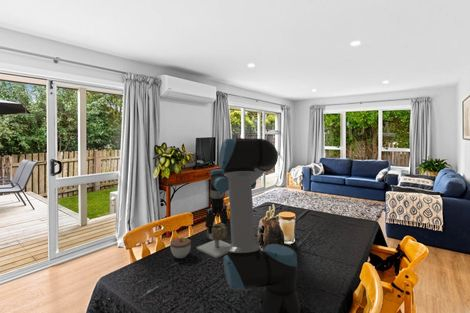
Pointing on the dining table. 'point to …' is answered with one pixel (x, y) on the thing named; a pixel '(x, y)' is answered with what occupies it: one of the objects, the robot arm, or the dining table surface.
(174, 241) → the lidded jar
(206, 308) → the dining table surface
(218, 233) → the collar
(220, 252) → the post block
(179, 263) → the dining table surface
